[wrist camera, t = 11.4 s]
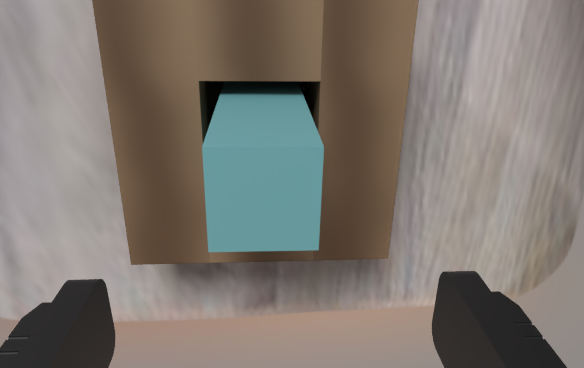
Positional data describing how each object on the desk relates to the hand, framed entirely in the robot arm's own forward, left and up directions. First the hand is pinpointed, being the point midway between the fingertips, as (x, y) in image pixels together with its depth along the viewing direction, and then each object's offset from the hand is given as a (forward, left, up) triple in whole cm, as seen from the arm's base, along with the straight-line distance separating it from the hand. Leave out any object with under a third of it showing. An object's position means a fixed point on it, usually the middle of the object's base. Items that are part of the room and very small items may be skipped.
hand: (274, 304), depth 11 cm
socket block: (0, 0, -17) cm, 17 cm away
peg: (0, 0, -17) cm, 17 cm away
